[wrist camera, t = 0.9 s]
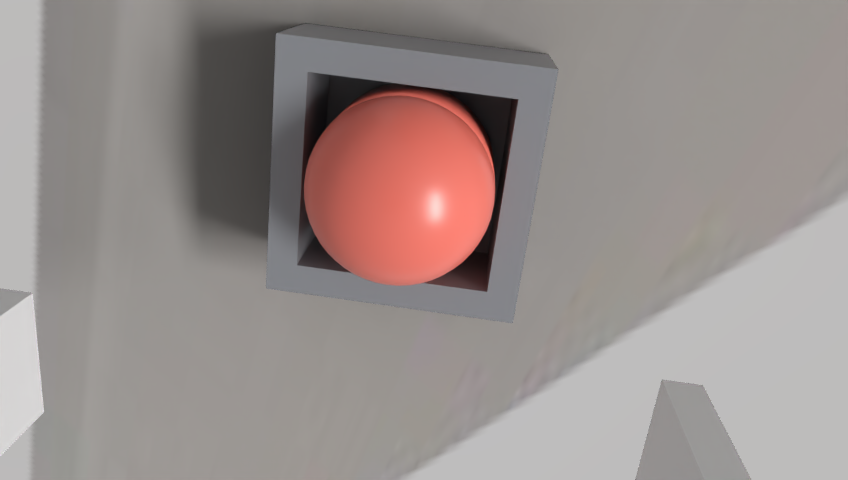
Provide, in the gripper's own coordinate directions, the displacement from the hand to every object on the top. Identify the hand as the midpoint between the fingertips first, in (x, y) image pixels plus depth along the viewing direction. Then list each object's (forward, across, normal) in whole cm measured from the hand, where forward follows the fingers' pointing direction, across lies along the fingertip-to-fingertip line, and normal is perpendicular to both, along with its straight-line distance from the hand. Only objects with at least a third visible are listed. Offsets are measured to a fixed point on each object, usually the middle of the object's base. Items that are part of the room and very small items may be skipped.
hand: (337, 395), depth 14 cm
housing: (+19, 0, 0) cm, 19 cm away
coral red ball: (+17, 0, 0) cm, 17 cm away
